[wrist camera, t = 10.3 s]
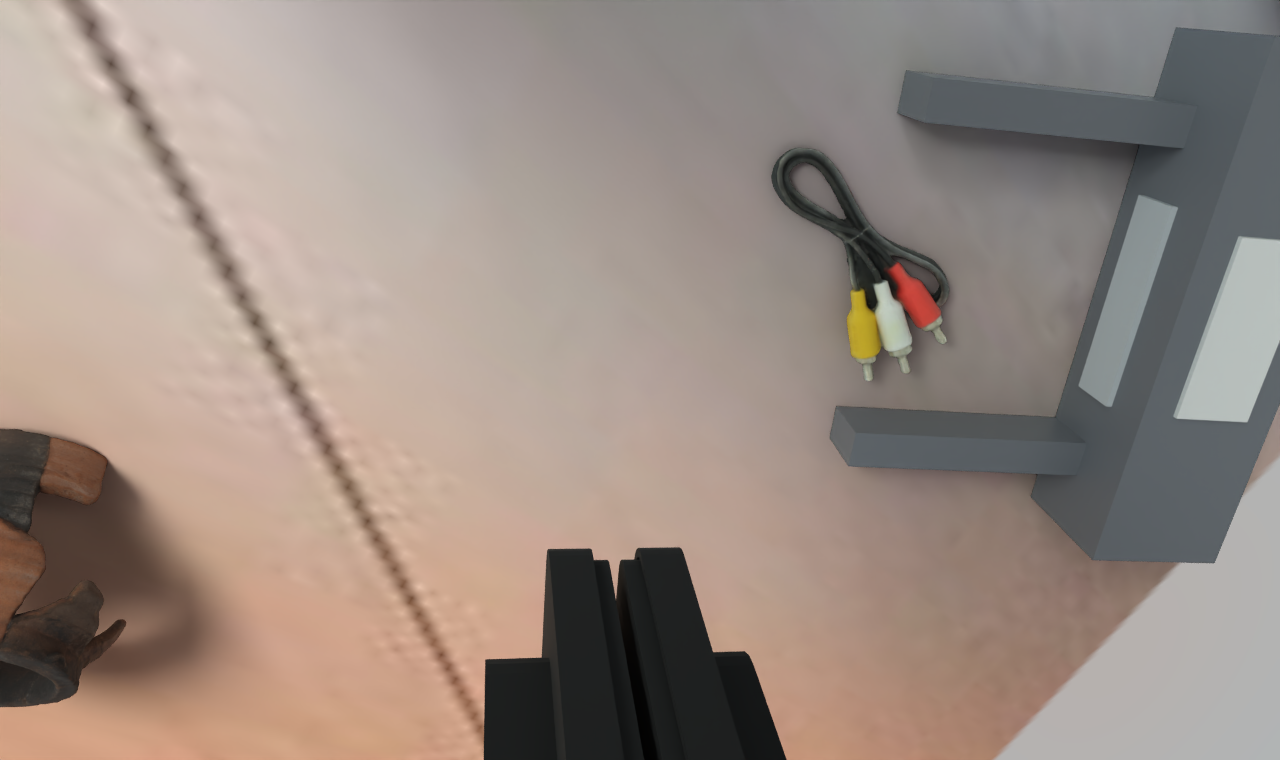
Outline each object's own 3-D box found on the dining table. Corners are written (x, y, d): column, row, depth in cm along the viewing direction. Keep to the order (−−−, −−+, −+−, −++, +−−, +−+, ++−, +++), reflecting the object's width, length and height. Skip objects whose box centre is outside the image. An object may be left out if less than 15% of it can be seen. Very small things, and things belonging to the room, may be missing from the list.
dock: (921, -4, 33) (988, 0, 28) (1306, 43, 35) (1428, 54, 31) (818, 489, 41) (858, 557, 36) (1140, 500, 43) (1217, 566, 38)
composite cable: (754, 164, 35) (771, 177, 33) (869, 100, 35) (893, 109, 32) (854, 372, 39) (874, 396, 37) (958, 317, 39) (985, 337, 36)
